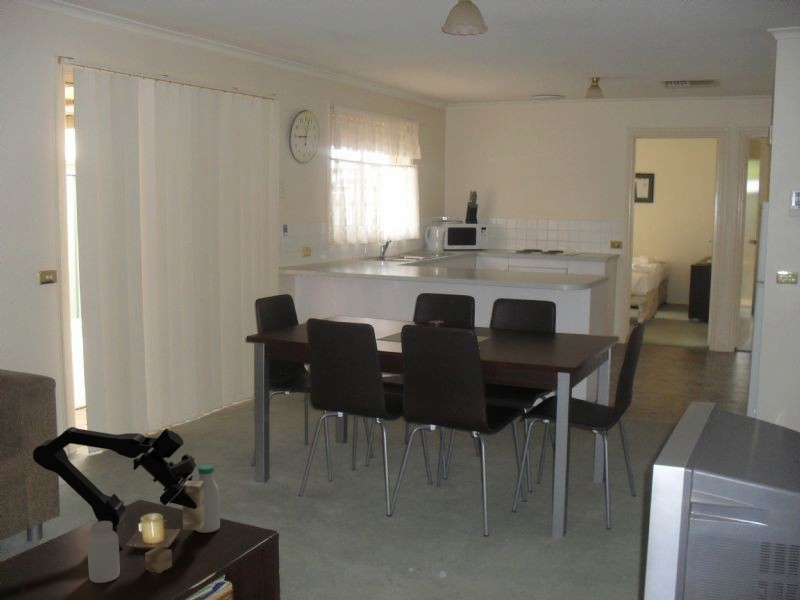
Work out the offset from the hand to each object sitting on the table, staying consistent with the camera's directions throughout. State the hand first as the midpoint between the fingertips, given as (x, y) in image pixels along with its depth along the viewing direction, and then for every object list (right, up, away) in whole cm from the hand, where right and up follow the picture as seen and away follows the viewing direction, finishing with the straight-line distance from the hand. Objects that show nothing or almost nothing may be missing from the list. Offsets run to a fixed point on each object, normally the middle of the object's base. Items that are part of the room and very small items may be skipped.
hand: (198, 504), depth 235 cm
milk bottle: (-1, -12, +16) cm, 20 cm away
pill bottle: (-21, -16, -17) cm, 31 cm away
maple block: (-1, -7, +1) cm, 7 cm away
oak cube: (-8, -15, -11) cm, 20 cm away
